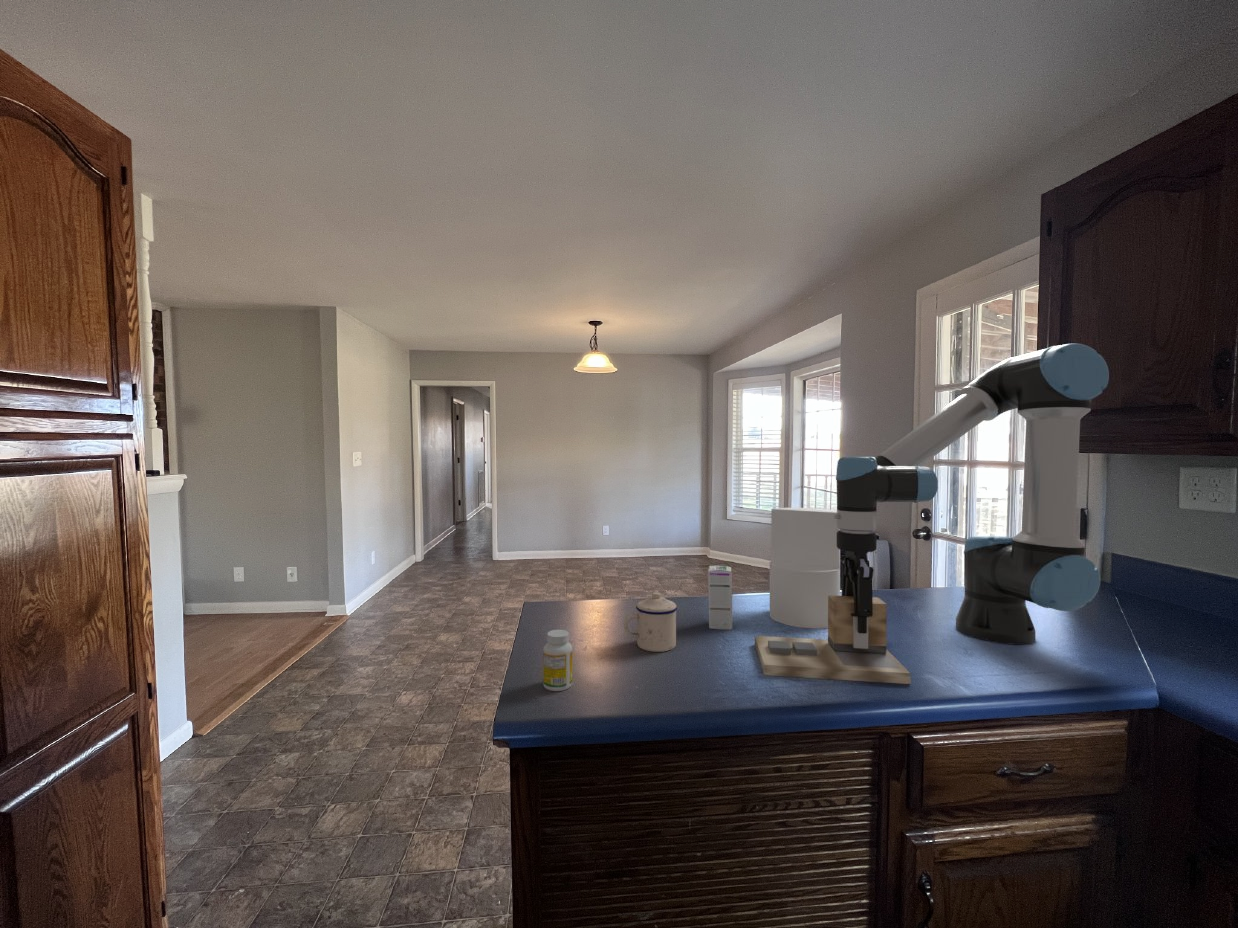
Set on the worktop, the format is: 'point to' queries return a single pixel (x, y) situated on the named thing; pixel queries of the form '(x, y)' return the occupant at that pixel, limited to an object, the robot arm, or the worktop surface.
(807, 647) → the chip
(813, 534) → the cylinder
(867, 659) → the maple board
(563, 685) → the supplement bottle
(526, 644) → the worktop surface
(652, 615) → the teacup with lid
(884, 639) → the sanding block
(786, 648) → the chip
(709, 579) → the syrup box
